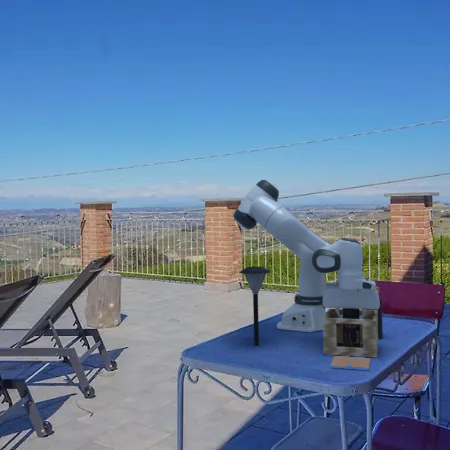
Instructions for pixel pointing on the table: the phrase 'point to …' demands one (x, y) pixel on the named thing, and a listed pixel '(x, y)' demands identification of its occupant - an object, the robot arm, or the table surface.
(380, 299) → the bottle
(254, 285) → the solar garden light
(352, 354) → the crate
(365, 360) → the tile
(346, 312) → the deodorant
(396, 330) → the table surface
